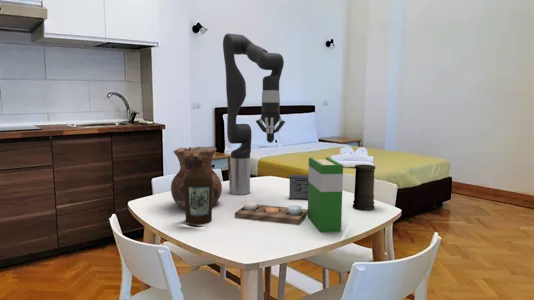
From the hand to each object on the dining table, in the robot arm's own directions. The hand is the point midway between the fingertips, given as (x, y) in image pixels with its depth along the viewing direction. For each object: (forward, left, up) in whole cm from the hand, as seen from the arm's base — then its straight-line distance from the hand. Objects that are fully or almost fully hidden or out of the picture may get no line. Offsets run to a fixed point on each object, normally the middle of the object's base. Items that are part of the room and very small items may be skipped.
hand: (270, 142), depth 179 cm
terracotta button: (+7, -20, -26) cm, 33 cm away
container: (+39, +8, -27) cm, 48 cm away
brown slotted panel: (+8, -20, -27) cm, 34 cm away
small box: (+10, +15, -27) cm, 33 cm away
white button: (-2, -20, -24) cm, 31 cm away
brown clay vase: (-28, -14, -27) cm, 41 cm away
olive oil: (-16, -35, -27) cm, 47 cm away
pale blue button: (+16, -20, -24) cm, 35 cm away
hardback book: (+28, -23, -27) cm, 45 cm away
